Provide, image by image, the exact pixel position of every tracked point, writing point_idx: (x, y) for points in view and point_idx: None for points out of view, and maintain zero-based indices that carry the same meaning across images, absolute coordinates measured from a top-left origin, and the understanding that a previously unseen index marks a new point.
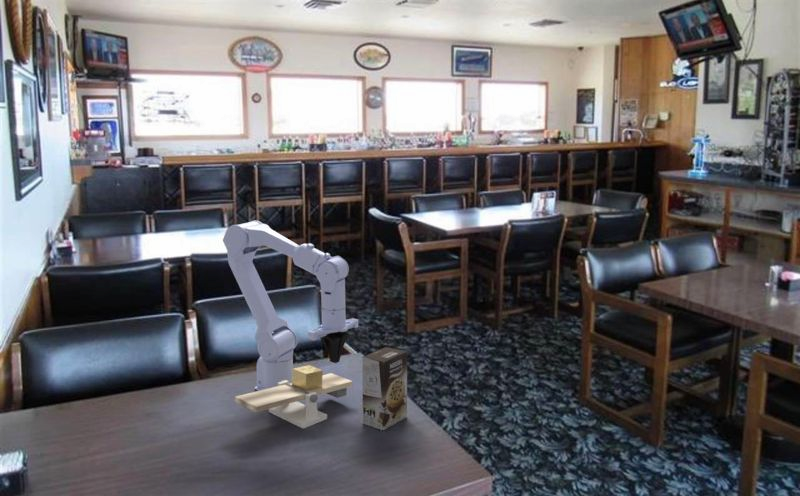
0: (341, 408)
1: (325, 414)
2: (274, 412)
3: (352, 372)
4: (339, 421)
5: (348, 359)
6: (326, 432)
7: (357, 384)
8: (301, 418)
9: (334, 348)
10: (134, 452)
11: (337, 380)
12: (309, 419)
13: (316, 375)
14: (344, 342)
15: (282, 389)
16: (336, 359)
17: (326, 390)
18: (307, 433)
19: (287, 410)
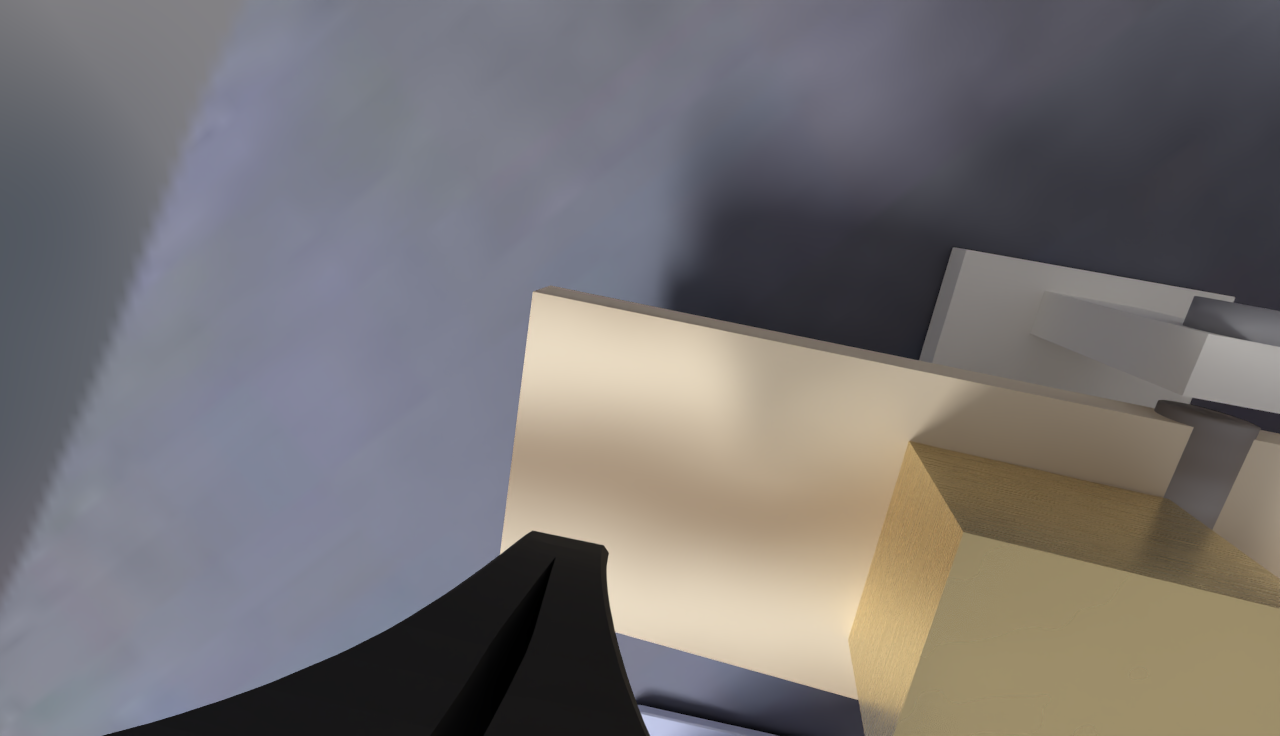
0: (727, 272)
1: (969, 263)
2: None
3: (178, 588)
4: (947, 126)
5: (43, 729)
6: (1189, 81)
7: (308, 437)
8: (1131, 382)
9: (638, 721)
10: None
11: (624, 430)
12: (1138, 307)
13: (1068, 533)
14: (284, 694)
15: None
16: (589, 562)
17: (914, 365)
18: (1270, 208)
19: None
